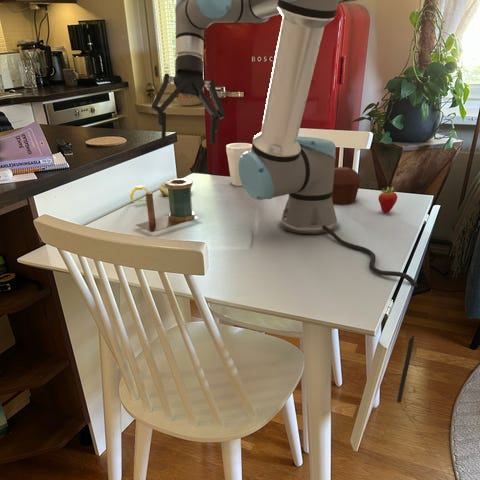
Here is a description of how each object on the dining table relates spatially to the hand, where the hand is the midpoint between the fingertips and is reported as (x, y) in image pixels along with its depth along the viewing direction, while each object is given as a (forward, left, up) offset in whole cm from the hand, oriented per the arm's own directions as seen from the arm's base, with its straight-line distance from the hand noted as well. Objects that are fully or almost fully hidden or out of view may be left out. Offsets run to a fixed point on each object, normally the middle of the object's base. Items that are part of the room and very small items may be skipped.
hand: (188, 141), depth 131 cm
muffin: (-27, -40, -21) cm, 52 cm away
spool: (-2, +6, -19) cm, 20 cm away
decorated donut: (+20, -12, -21) cm, 32 cm away
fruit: (-44, -37, -21) cm, 61 cm away
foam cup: (+12, -36, -21) cm, 44 cm away
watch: (+20, +3, -21) cm, 30 cm away
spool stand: (-1, +11, -21) cm, 24 cm away
